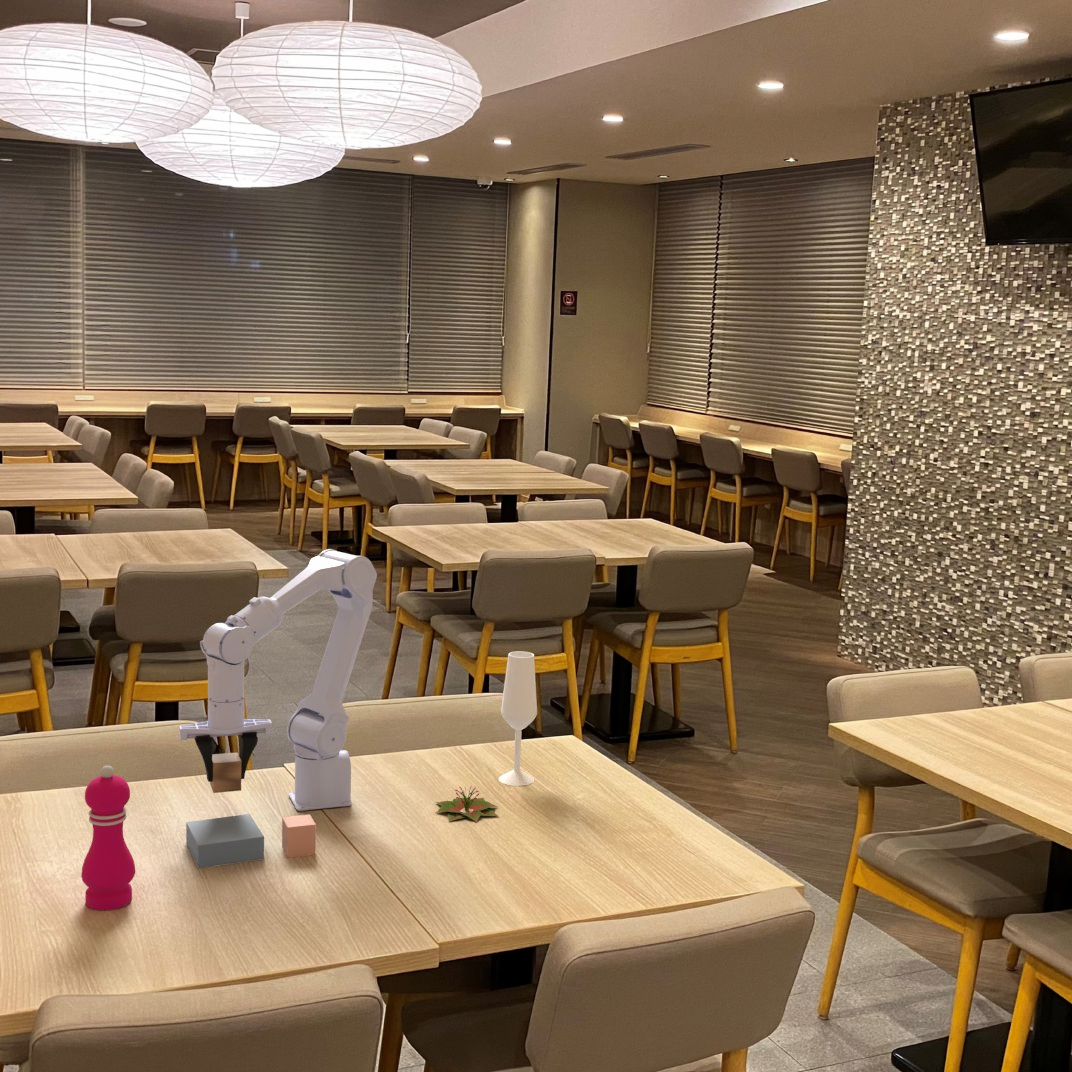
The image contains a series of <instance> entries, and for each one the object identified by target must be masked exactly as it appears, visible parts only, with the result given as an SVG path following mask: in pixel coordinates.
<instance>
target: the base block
mask: <svg viewBox="0 0 1072 1072" xmlns="http://www.w3.org/2000/svg"><path fill="white" fill-rule="evenodd" d="M185 825H186V826H185V827H186V829H185V832H186V833H185V834H186V835H185V839H186V840H185V841H186V846H187V848H188V850H189V852H190V854H191V856H192V858H193V860H194V862H195V864H196V866H197V868H198V869H202V868H203V869H204V868H211V867H217V866H225V865H232V864H233V865H234V864H239V863H246V862H253V861H260V860H261V861H262V860H265V836H264V834H263V833H262V831H261V830H260V828H259V826H258V825H257V824H256V821H255V820H254V818H253V817H252V815H251V813H246V814H239V815H232V816H224V817H223V816H222V817H216V818H209V819H200V820H199V819H198V820H192V821H186V823H185Z"/></svg>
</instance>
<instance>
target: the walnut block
mask: <svg viewBox="0 0 1072 1072" xmlns="http://www.w3.org/2000/svg"><path fill="white" fill-rule="evenodd" d="M212 770H213V782H209V784H210V787H211V790H212V794H216V793H217V794H218V793H229V792H239V791H242V779H241V759H240V757H239V752H227V753H215V754H213V753H212Z"/></svg>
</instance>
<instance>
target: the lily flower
mask: <svg viewBox="0 0 1072 1072" xmlns="http://www.w3.org/2000/svg"><path fill="white" fill-rule="evenodd" d="M476 788H477V787H474V788H473V789H472V785H470V789H469V791H468V796H467V795H466V793H465V791H467V790H466V788H464V789H465V790H463V788H462V787H461V786H459V789H460V790H461V792H460V791H459V790H458V789H454V791H455V794H456V795H457V796H456V798H453V799H452V800H443V801H439V802H438V801H435V803H436V804H437V805H439V806H440V808H438V810H437V811H435V812H434V814H438V813H442V812H443V813H444V812H449V813H447V819H448V822H452V821H455V820H460V819H464V818H469V819H471V820H473V821H474V822H475V823H478V822H479V821H478V820H479V818H480V817H499V815H498V814H497V813H496V812H495V811H494V810H492V809H488V808H495V807H496V808H498V807H499V806H498V805H495V804H493V803H491V802H489V801H486V799H485V798H484V797H478V796H480V790H476ZM471 789H472V790H471ZM470 790H471V791H470ZM474 791H475V792H474ZM475 793H477V794H476V795H475V797H473V798H471V797H472V796H473V795H474V794H475ZM459 794H460V795H461V796H462V797H461V796H460V795H459ZM477 797H478V798H477ZM463 809H464V811H470V810H472V811H471V812H464V811H462V810H463ZM458 814H461V816H458Z"/></svg>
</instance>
